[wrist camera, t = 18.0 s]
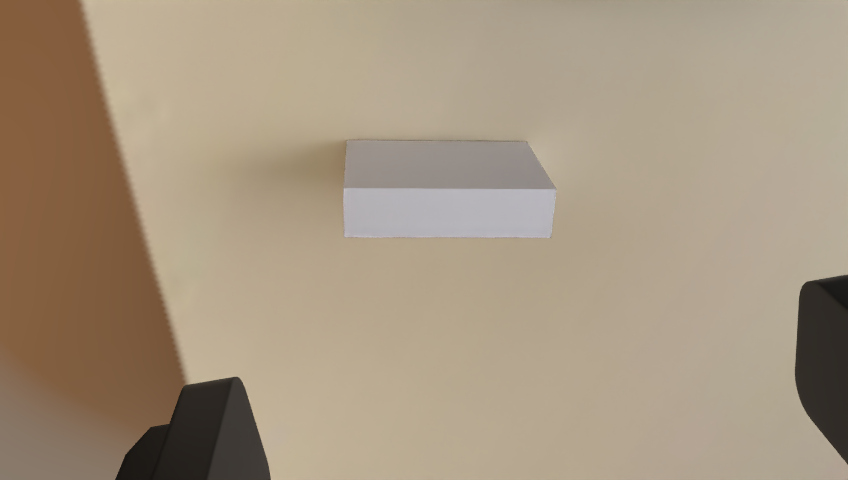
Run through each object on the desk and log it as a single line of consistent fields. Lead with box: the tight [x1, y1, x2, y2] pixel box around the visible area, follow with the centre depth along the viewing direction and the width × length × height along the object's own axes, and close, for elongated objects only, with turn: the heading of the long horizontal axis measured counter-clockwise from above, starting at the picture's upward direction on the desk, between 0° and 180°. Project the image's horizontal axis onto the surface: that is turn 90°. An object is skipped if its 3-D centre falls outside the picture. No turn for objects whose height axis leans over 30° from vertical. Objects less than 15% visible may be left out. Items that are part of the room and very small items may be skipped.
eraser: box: [343, 140, 556, 238], centre depth 20 cm, size 1×5×4 cm, turn 88°
